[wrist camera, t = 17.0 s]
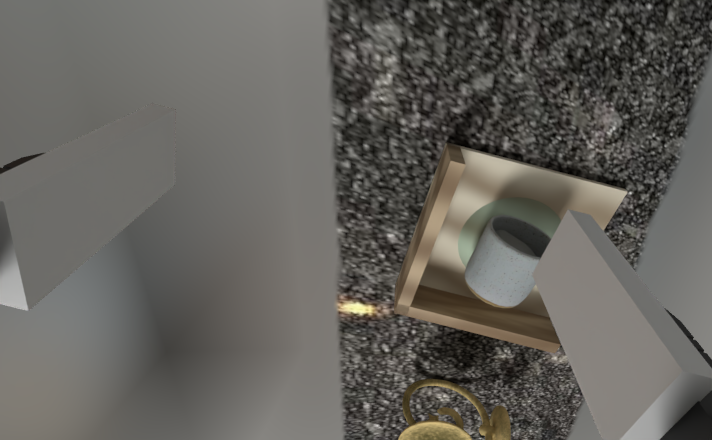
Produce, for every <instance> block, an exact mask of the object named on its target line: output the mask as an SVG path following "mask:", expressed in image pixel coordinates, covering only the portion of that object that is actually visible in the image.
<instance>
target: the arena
mask: <svg viewBox="0 0 712 440" xmlns="http://www.w3.org/2000/svg"><path fill="white" fill-rule="evenodd" d="M626 194H627V191H626V190H625V189H624V188H620V187H616V186H612V185H608V184H604V183H601V182H597V181H593V180H589V179H585V178H582V177H578V176H574V175H570V174H566V173H562V172H559V171H555V170H551V169H547V168H543V167H539V166H536V165H532V164H528V163H524V162H520V161H516V160H513V159H509V158H505V157H501V156H497V155H493V154H490V153H486V152H482V151H478V150H474V149H471V148H467V147H463V146H459V145H455V144H451V143H448V142H446V144H445V146H444V149H443V152H442V155H441V158H440V161H439V163H438V166H437V169H436V172H435V175H434V177H433V180H432V183H431V186H430V189H429V191H428V194H427V197H426V200H425V203H424V205H423V208H422V211H421V214H420V217H419V220H418V222H417V225H416V228H415V231H414V234H413V236H412V239H411V242H410V245H409V248H408V250H407V253H406V256H405V259H404V262H403V264H402V267H401V270H400V273H399V276H398V278H397V281H396V284H395V307H394V313H397V314H401V315H405V316H409V317H413V318H417V319H421V320H425V321H428V322H432V323H436V324H440V325H444V326H448V327H452V328H456V329H460V330H464V331H468V332H472V333H476V334H480V335H484V336H488V337H492V338H496V339H500V340H504V341H508V342H512V343H516V344H520V345H524V346H528V347H532V348H536V349H540V350H544V351H548V352H551V353H555V352H556V351H557V349H558V348H559V346H560V345H561V344H560V342H559V340H558V337H557V335H556V333H555V330H554V328H553V326H552V323H551V321H550V319H549V317H550V316H549V314H548V311H547V309H546V307H545V304H544V302H543V300H542V297H541V295H540V292H539V290H538V288H537V285H535V286H534V287H533V289H532V290H531V292H530V293H529V294H528V296H527V297H526V298H525V299H524V300H523V301H522V302H521V303H519V304H518V305H516V306H515V307H511V308H500V307H495V306H492V305H490V304H488V303H485V302H484V301H482V300H481V299H480V298H478V297H477V296H476V295H475V294H474V293H473V292H472V291H471V290H470V289H469V287H468V285H467V284H466V281H465V276H464V275H465V269H466V266H467V263H468V261H469V259H470V257H471V255H472V253H473V252H474V250H475V248H476V246H477V244H478V242H479V239H480V238H481V236H482V234H483V232H484V230H485V228H486V226H487V224H488V222H489V220H490V219H491V218H492V217H494V216H496V215H508V216H513V217H516V218H520V219H522V220H524V221H527V222H529V223H531V224H533V225H535V226H536V227H537V228H539V229H541V230H542V231H543V232H545V233H546V234H547V235H548V236H549V237H550V238H551V239H552V237H553V235H554V233H555V232H556V230H557V228H558V226H559V224H560V223H561V221H562V219H563V217H564V215H565V214H566V212H567V210H568V209H569V210H573V211H577V212H581V213H585V214H589V215H591V216H592V218H593V219H594V220H595V221H596V223H597V224H598V225H599V226H600V228H601V229H602V230H604V229H605V227H606V226H607V224H608V222H609V221H610V219H611V218H612V216H613V214H614V213H615V211H616V210H617V208H618V206H619V205H620V203H621V202H622V200H623V198H624V197H625V195H626Z"/></svg>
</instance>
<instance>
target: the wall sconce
mask: <svg viewBox="0 0 712 440" xmlns="http://www.w3.org/2000/svg"><path fill="white" fill-rule="evenodd" d="M424 386H441V387H446V388H449V389H452V390H454V391H456V392H458V393H460V394H462V395H463V396H465V397H466V398H467V399H468V400H470V401H471V402H472V403H473V405H474V406H475V407H476V408H477V410H478V412H479V413H480V416H481V418H482V422H483V425H481V426H480V427H479V432H480V434H481V435H484V436H485V440H510V436H511V429H510V420H509V416H508V412H507V410H506V409H505V407H503V406H496V407H495V408H494V410H493V411H492V414H491V417H490V421H489V418H488V415H487V413H486V411H485V409H484V407H483V405H482V404H481V403H480V401H479V400H478V399H477V398H476V397H475V396H474V395H473V394H471V393H470V392H469V391H467V390H466V389H464V388H463V387H461V386H459V385H457V384H455V383H452V382H449V381H446V380H440V379H424V380H420V381H417V382H415V383H413V384H412V385H410V386H409V387H408V388H407V390H406V391H405V393H404V396H403V413H404V416H405V418H406V420H407V422H408V424H409V425H410V426H409V427H407V428H406V429H405V430H404V431H403V432H402V433H401V434H400V436H399V439H398V440H472V438H471V437H470V435H469V434H468V433H467V432H466V431H465V430H463V421H462V418H461V416H460V415H459V414H458V412H456V411H455V410H453V409H451V408H446V407H444V408H440V409H438V410H437V411H438V413H439V414H441V415H443V414H448V415H450V416H452V417H453V418H454V419H455V421H456V425H455V424H452V423H449V422H445V421H439V420H438V416H432V415H430V414H429V418H430V419H428V420H427V421H422V422H418V423H416V422H415V420H414V419H413V417H412V415H411V412H410V407H409V400H410V397H411V395H412V393H413V392H414V391H415V390H416V389H418V388H420V387H424Z"/></svg>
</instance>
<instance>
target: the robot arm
mask: <svg viewBox="0 0 712 440" xmlns="http://www.w3.org/2000/svg"><path fill="white" fill-rule="evenodd" d="M175 110H176V109H173V108H169V107H165V106H161V105H157V104H153V103H152V104H150V105H147V106H145V107H143V108H141V109H139V110H137V111H135V112H132V113H130V114H128V115H126V116H124V117H122V118H120V119H117V120H115V121H113V122H111V123H109V124H107V125H105V126H103V127H100V128H98V129H96V130H94V131H92V132H90V133H87V134H85V135H83V136H81V137H79V138H77V139H75V140H73V141H70V142H68V143H66V144H64V145H62V146H60V147H57V148H55V149H53V150H51V151H49V152H47V153H41V154H36V155H32V156H28V157H23V158H20V159H18V160H16V161H13V162H11V163H9V164H7V165H5V166H4V167H3V168H0V304H2V305H6V306H10V307H15V308H19V309H23V310H27V311H29V310H30V309H31V308H32V307H34V306H35V305H36V304H37V303H38V302H39V301H40V300H42V299H43V298H44V297H45V296H46V295H48V294H49V293H50V292H51V291H52V290H53V289H55V288H56V287H57V286H58V285H59V284H60V283H61V282H63V281H64V280H65V279H66V278H67V277H69V276H70V274H72V273H73V272H74V271H75V270H77V269H78V268H79V267H80V266H81V265H82V264H84V263H85V262H86V261H87V260H88V259H89V258H90V257H92V256H93V255H94V254H95V253H96V252H97V251H99V250H100V249H101V248H102V247H103V246H104V245H106V244H107V243H108V242H109V241H110V240H111V239H113V238H114V237H115V236H116V235H117V234H118V233H120V232H121V231H122V230H123V229H124V228H125V227H127V225H129V224H130V223H131V222H132V221H133V220H135V219H136V218H137V217H138V216H139V215H140V214H141V213H143V212H144V211H145V210H146V209H147V208H149V206H151V205H152V204H153V203H154V202H155V201H157V200H158V199H159V198H160V197H161V196H162V195H164V194H165V193H166V192H167V191H168V190H169V189H171V188H172V187H173V186H174V185H175V119H176V111H175ZM532 276H533V278H534V281H535V283H536V285H537V288H538V290H539V292H540V295H541V297H542V300H543V302H544V304H545V307H546V309H547V311H548V314H549V316H550V318H551V321H552V323H553V325H554V328H555V330H556V332H557V335H558V337H559V339H560V342H561V344H562V346H563V349H564V351H565V353H566V356H567V358H568V360H569V363H570V365H571V368H572V370H573V372H574V375H575V377H576V379H577V382H578V384H579V386H580V389H581V391H582V393H583V396H584V398H585V400H586V403H587V405H588V407H589V410H590V412H591V414H592V417H593V419H594V421H595V424H596V426H597V428H598V431H599V433H600V436H601V438H602V440H712V360H711V358H710V357H709V356H708V354H706V353H704V350H703V348H702V347H701V346H700V345H699V343H698V342H697V341H696V340H693V338H694V337H693V336H692V335H691V333H690V332H689V331H688V330H687V329H686V327H685V326H684V325H683V324H682V322H681V321H680V320H678V319H677V318H676V317H675V316H674V315H672V314H671V313H670V312H669V311H668V310H666V309H665V308H664V307H663V306H662V305H661V304H660V302H659V301H658V300H657V298H656V297H655V296H654V295H653V293H652V292H651V291H650V290H649V288H648V287H647V286H646V285H645V283H644V282H643V281H642V280H641V278H640V277H639V276H638V274H637V273H636V272H635V271H634V269H633V268H632V267H631V266H630V264H629V263H628V262H627V261H626V259H625V258H624V257H623V255H622V254H621V253H620V252H619V250H618V249H617V248H616V247H615V245H614V244H613V243H612V242H611V240H610V239H609V238H608V236H607V235H606V234H605V233H604V231H603V230H602V229H601V228H600V226H599V225H598V224H597V223H596V221H595V220H594V219H593V218H592V216H591V215H589V214H585V213H581V212H577V211H573V210H569V209H568V210H567V212H566V214H565V215H564V217H563V219H562V221H561V223H560V224H559V226H558V228H557V230H556V232H555V233H554V235H553V237H552V239H551V241H550V243H549V244H548V246H547V248H546V250H545V252H544V253H543V255H542V257H541V259H540V261H539V262H538V264H537V266H536V268H535V270H534V271H533V273H532Z"/></svg>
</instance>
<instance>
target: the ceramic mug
mask: <svg viewBox="0 0 712 440" xmlns="http://www.w3.org/2000/svg"><path fill="white" fill-rule="evenodd" d="M550 241H551V238H550V237H549V236H548V235H547V234H546V233H545V232H543V231H542V230H541V229H539V228H537V227H536V226H535V225H533V224H531V223H529V222H527V221H524V220H522V219H520V218H516V217H513V216H508V215H496V216H494V217H492V218H491V219H490V220H489V222H488V224H487V226H486V228H485V230H484V232H483V234H482V236H481V238H480V239H479V242H478V244H477V246H476V248H475V250H474V252H473V253H472V255H471V257H470V259H469V261H468V263H467V266H466V269H465V275H464V276H465V281H466V284H467V285H468V287H469V289H470V290H471V291H472V292H473V293H474V294H475V295H476V296H477V297H478V298H480V299H481V300H482V301H484V302H485V303H488V304H490V305H492V306H495V307H500V308H511V307H515V306H516V305H518V304H519V303H521V302H522V301H523V300H524V299H525V298H526V297H527V296H528V294H529V293H530V292H531V290H532V289H533V287H534V286H535V285H536V283H535V281H534V278H533V276H532V273H533V271H534V270H535V268H536V266H537V264H538V262H539V261H540V259H541V257H542V255H543V253H544V252H545V250H546V248H547V246H548V244H549V243H550Z"/></svg>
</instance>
